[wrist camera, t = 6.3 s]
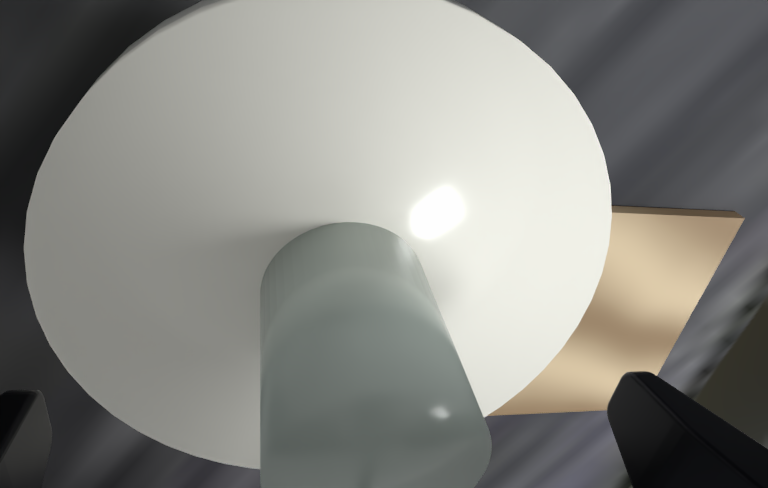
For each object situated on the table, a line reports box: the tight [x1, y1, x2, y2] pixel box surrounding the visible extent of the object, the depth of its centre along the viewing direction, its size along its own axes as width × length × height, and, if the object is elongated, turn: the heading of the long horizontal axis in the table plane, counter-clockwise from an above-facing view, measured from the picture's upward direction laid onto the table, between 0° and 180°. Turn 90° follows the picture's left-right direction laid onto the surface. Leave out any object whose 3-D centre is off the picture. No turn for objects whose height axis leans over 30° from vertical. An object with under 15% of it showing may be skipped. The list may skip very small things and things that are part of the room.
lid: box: [24, 0, 612, 488], centre depth 10 cm, size 11×11×5 cm
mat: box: [487, 206, 745, 416], centre depth 27 cm, size 12×12×1 cm
